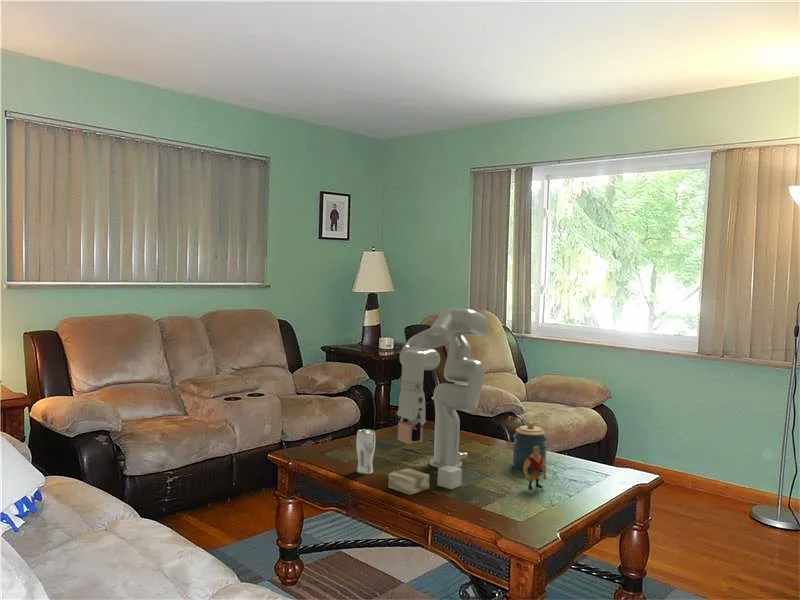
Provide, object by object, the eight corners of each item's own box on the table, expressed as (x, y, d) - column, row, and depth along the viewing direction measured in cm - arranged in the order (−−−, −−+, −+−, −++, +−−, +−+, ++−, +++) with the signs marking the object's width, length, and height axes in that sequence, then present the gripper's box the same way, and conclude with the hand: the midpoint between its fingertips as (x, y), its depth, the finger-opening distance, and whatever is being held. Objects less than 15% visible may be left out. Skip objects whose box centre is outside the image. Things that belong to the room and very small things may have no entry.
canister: (526, 473, 240) (528, 427, 239) (505, 464, 251) (507, 419, 250) (553, 469, 246) (555, 424, 245) (531, 460, 257) (532, 417, 257)
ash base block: (407, 481, 227) (408, 467, 227) (429, 489, 220) (429, 474, 220) (388, 488, 220) (388, 473, 220) (409, 495, 213) (410, 481, 213)
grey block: (447, 481, 228) (447, 464, 228) (461, 485, 224) (461, 468, 224) (437, 485, 224) (438, 468, 223) (451, 489, 220) (452, 472, 220)
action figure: (526, 490, 221) (528, 447, 220) (520, 487, 224) (522, 445, 224) (549, 487, 225) (551, 445, 224) (542, 484, 228) (544, 443, 228)
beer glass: (371, 475, 232) (373, 434, 231) (353, 473, 233) (354, 433, 232) (376, 469, 238) (377, 430, 238) (358, 468, 240) (359, 428, 239)
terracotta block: (411, 437, 223) (412, 420, 223) (422, 441, 218) (422, 424, 218) (397, 439, 220) (398, 422, 219) (407, 443, 215) (408, 426, 215)
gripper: (436, 389, 213) (434, 443, 214) (406, 381, 228) (404, 431, 228) (418, 391, 209) (416, 445, 210) (388, 383, 223) (386, 434, 224)
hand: (410, 438), depth 219 cm, fingers closed on terracotta block, 6 cm apart
